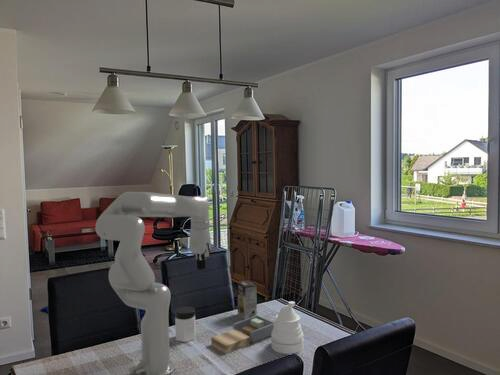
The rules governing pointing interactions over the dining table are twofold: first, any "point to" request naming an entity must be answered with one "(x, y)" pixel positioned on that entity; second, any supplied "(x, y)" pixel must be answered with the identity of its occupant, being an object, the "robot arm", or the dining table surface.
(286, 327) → the honey pot
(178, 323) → the jar
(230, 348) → the board
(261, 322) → the tile far
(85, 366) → the dining table surface
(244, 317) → the coffee box
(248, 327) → the tile near
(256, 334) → the tray
